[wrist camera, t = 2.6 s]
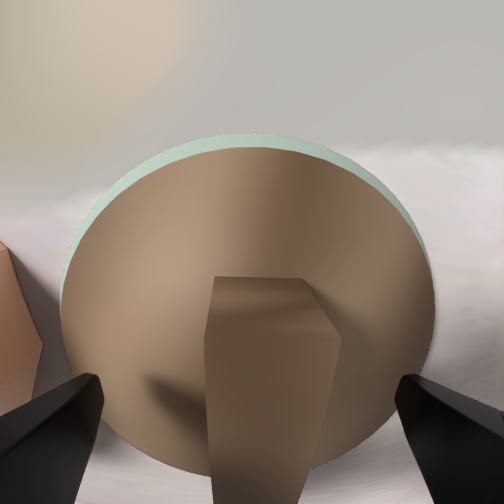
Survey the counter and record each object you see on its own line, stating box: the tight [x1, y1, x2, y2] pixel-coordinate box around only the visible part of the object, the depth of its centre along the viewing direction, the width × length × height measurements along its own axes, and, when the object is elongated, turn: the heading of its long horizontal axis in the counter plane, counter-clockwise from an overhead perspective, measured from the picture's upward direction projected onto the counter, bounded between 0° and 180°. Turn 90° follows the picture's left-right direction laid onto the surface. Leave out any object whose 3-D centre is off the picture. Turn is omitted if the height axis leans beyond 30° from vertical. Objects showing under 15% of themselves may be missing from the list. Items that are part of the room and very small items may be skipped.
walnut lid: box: [60, 147, 435, 504], centre depth 8 cm, size 13×13×4 cm
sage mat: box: [60, 133, 433, 322], centre depth 10 cm, size 14×14×1 cm
